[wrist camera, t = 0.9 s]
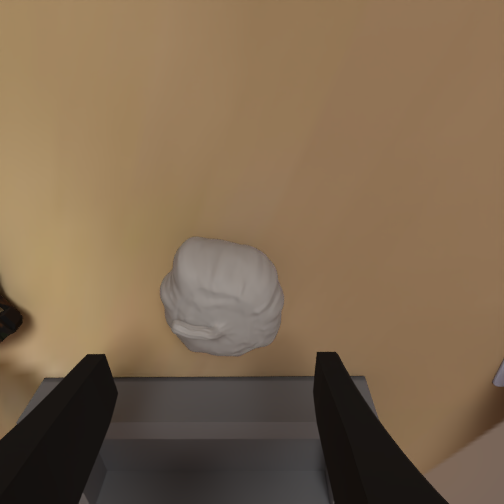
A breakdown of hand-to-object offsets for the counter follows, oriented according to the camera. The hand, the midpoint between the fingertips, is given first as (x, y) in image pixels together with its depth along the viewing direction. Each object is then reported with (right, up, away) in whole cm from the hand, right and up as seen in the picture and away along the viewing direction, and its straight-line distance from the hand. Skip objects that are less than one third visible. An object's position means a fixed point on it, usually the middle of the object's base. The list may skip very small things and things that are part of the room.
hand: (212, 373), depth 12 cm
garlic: (0, +3, +6) cm, 7 cm away
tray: (-2, -9, +13) cm, 16 cm away
